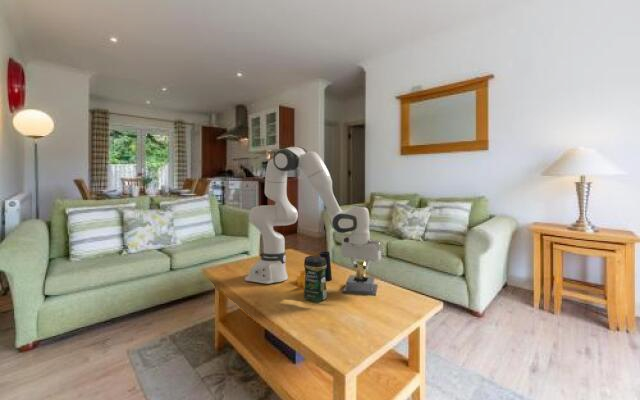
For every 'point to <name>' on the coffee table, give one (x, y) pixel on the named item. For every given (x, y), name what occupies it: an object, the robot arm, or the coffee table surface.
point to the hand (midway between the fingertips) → (360, 268)
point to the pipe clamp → (301, 278)
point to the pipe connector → (328, 268)
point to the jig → (360, 285)
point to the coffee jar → (315, 278)
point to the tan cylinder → (360, 270)
